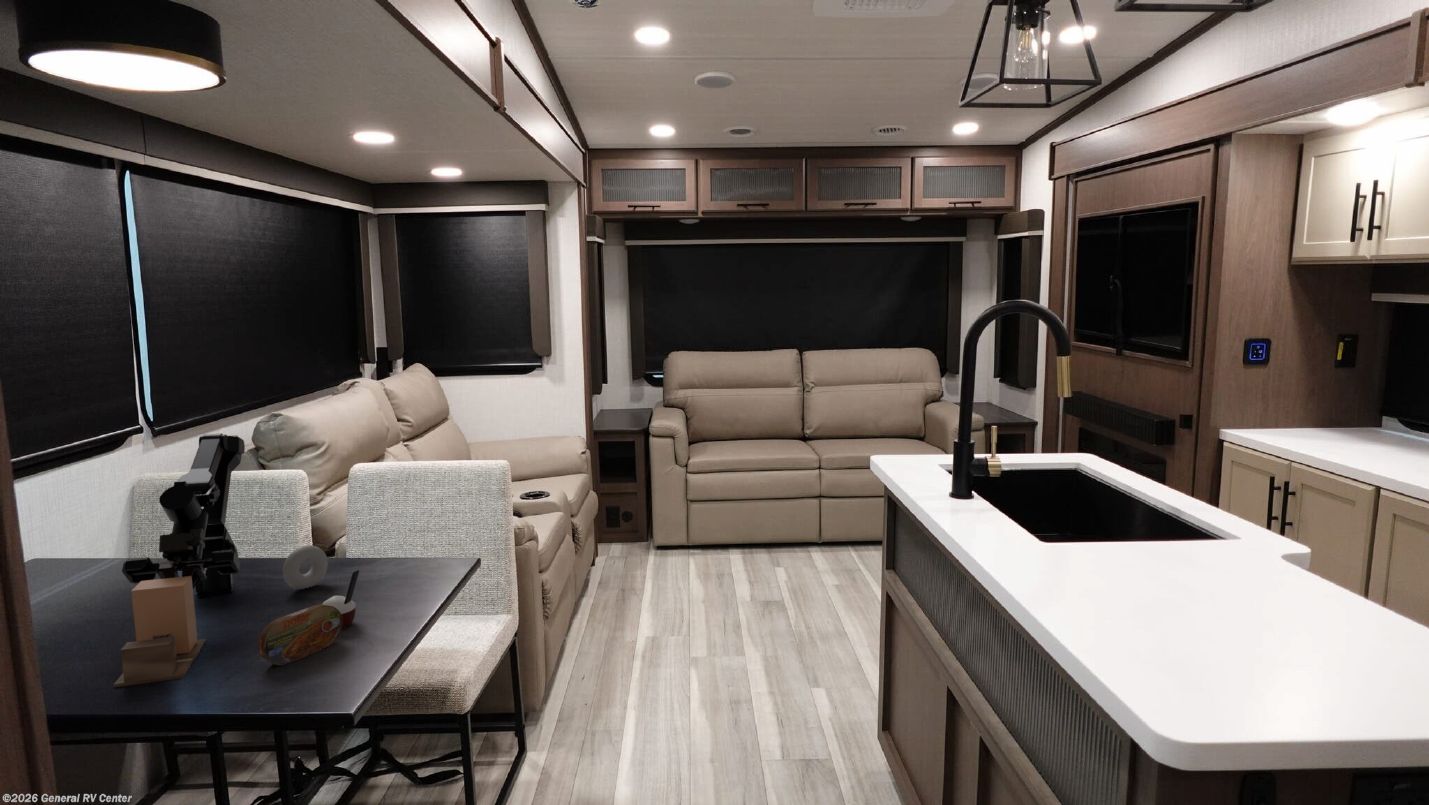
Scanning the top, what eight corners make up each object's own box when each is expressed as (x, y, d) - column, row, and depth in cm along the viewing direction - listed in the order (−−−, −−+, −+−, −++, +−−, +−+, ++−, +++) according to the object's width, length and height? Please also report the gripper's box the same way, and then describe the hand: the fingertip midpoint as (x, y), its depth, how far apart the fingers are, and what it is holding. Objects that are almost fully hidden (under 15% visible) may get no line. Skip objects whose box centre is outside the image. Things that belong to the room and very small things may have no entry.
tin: (266, 673, 138) (263, 628, 136) (257, 668, 139) (253, 624, 138) (345, 641, 150) (342, 600, 149) (335, 637, 152) (333, 596, 151)
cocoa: (314, 627, 157) (307, 571, 155) (344, 616, 162) (337, 561, 160) (338, 638, 151) (331, 579, 150) (368, 626, 156) (362, 569, 155)
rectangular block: (147, 647, 145) (141, 581, 143) (197, 641, 147) (191, 576, 146) (138, 659, 140) (131, 590, 138) (189, 652, 143) (183, 585, 141)
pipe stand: (144, 649, 146) (141, 616, 145) (206, 641, 149) (203, 609, 148) (114, 687, 132) (110, 651, 131) (182, 678, 135) (179, 642, 134)
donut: (289, 597, 172) (286, 553, 170) (281, 593, 173) (277, 550, 172) (332, 583, 180) (329, 541, 178) (323, 580, 182) (321, 539, 180)
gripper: (120, 519, 148) (103, 595, 140) (231, 511, 155) (222, 583, 146) (139, 546, 157) (124, 619, 148) (244, 537, 163) (235, 606, 154)
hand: (176, 606), depth 149 cm, fingers closed
